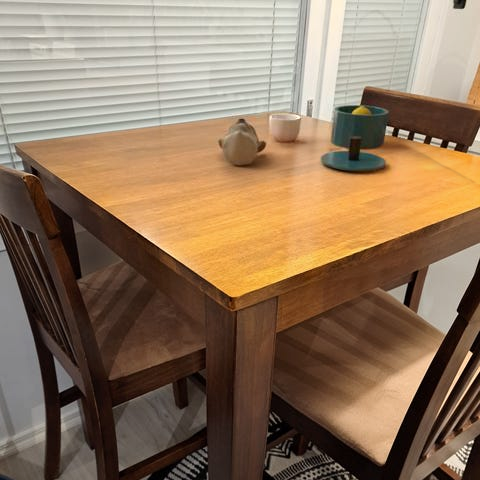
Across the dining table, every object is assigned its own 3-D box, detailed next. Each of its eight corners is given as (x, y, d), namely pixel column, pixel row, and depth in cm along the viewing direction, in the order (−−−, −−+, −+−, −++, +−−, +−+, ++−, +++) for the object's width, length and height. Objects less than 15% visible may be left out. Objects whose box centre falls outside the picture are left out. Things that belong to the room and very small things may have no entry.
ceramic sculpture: (212, 122, 97) (220, 112, 110) (212, 167, 101) (219, 152, 114) (266, 124, 97) (268, 114, 110) (264, 169, 101) (265, 154, 114)
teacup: (300, 143, 120) (302, 120, 117) (268, 143, 120) (269, 119, 117) (297, 134, 128) (299, 112, 125) (267, 133, 128) (268, 111, 125)
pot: (370, 135, 128) (375, 104, 124) (391, 148, 118) (397, 114, 113) (324, 137, 126) (327, 105, 122) (341, 150, 116) (345, 115, 111)
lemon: (362, 137, 124) (367, 103, 120) (373, 142, 120) (379, 107, 116) (342, 138, 123) (346, 104, 118) (353, 144, 118) (358, 108, 114)
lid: (369, 154, 112) (373, 129, 109) (396, 172, 101) (401, 144, 98) (312, 157, 110) (314, 130, 107) (332, 175, 99) (336, 146, 96)
